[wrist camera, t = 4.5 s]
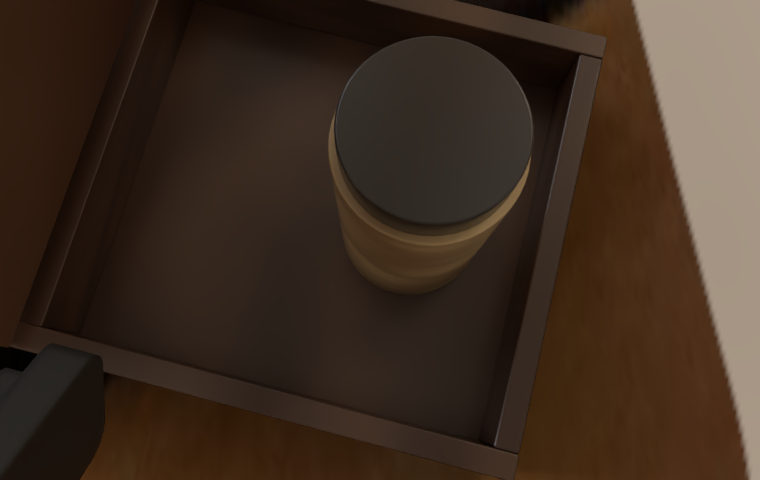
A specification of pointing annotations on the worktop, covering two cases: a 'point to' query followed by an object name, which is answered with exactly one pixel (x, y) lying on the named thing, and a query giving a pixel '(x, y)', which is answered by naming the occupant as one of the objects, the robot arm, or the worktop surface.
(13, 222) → the chest lid
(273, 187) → the chest
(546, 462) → the worktop surface
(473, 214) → the beige jar
